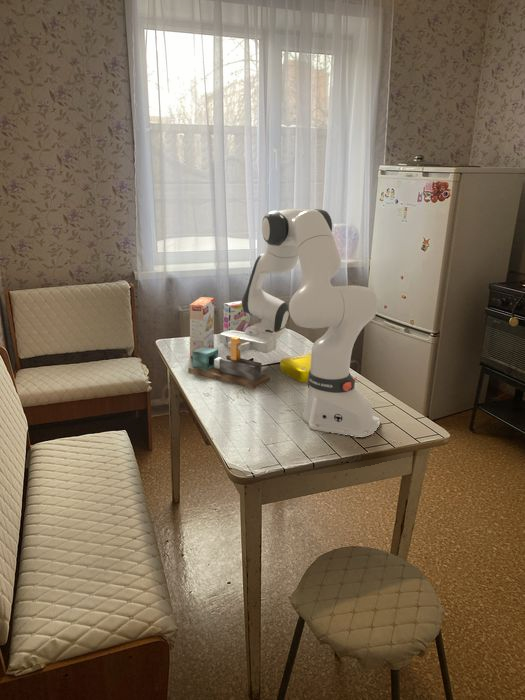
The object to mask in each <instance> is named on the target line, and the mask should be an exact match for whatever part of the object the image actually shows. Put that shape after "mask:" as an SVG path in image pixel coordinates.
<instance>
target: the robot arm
mask: <svg viewBox="0 0 525 700" xmlns="http://www.w3.org/2000/svg"><path fill="white" fill-rule="evenodd" d="M332 220H333V219H332V218H331V216H330V214H329V212H328V211H327V210H324V209H319V208H315V209H309V208H308V209H307V208H288V209H282V210H277V209H276V210H272V211H268V212H267V213H265V215H264V217H263V218H262V223H261V233H262V236H263V239H264V241H265V242H266V249H265V252H263V253H261V254H259V255H258V257H257V258H256V260H255V262H254V265H253V267H252V270H251V273H250V275H249V276H250V277H249V281H248V283H247V287H246V289H245V292H244V294H243V296H242V299H241V301H242V307H243V310H244V311H245V312H246V313H248V314H250V316H252V317H253V316H254V317H256V318H258V319H260V320H261V321H260V322H259V323H255V324H252V325H250V326H249V327H247V328H246V329H245V331H244V332H241V331H236V330H229V331H226V332H223V331H222V332H220V333H219V343H220V344H222V345H227V348H229V349H231V338H232V337H234V336H235V337H240V344H238V345H237V350H240V351H243V350H250V351H255V352H259V353H263V354H268V353H270V352H272V351H274V350H276V348H277V341H278V340H279V339H280V338H281V337H282V336H283V335H284V333H285V331H286V326H288V325H287V324H288V323H289V319H290V318H291V320H292V322H293V323H294V324H295V325H296V326H298V327H301V328H307V329H320V328H323V329H324V328H327V330H326V332H325V333H324V334H323V335H322V336H321V337H319V338H317V340H315V342H314V343H313V345H312V346H311V349H310V350H311V353H310V354H311V368H310V370H309V376H308V382H307V387H308V391H307V398H306V401H305V405H304V409H303V410H302V411H303V412H302V416H301V417H302V419H303V420H304V421H305V422H306V423H307V425H308V427H309V429H311V430H314V431H319V432H325V433H329V432H331V433H330V434H334V433H339V434H338V435H340V434H347V435H353V436H366V435H368V434H371V433H372V432H373V431H375V430H376V429H377V427H378V426H379V425H380V426H381V420H380V418H379V417H378V416H376V415H374V411H373V403H371V401H370V400H369V399H368V398H367V397H366V396H364V394H362V393H361V392H360V390H358V389H357V388H356V386H355V383H356V382H357V381H358V376H355V377H353V376H352V375H351V372H350V367H351V358H352V353H353V348H354V344H355V342H356V340H357V338H358V336H359V335H360V333H361V331H362V330H364V327H365V326H366V325H367V324H368V323H369V322H371V321H372V320H373V319H374V318H375V316H376V315H377V313H378V308H379V300H378V297H377V295H376V293H375V291H374V290H373V289H372V288H370V287H367V286H361V285H356V284H353V285H352V284H351V285H339V286H335V285H334V286H333V285H332V283H331V281H330V280H331V279H332V278H334V277H335V276H336V275H337V274H338V273H339V272H340V268H341V265H342V260H341V257H340V253H339V251H338V247H337V244H336V241H335V238H334V235H333V233H332V232H333V221H332ZM298 259H299V263H300V268H301V273H302V279H301V280H302V281H301V283H300V286H299V288H298V289H297V290H296V292H294V294H292V296H291V298H290V301H289V304H288V303H287V302H285V301H284V300H281V299H280V298H278V297H276V296H274V295H271V294H269V293H268V292H266V291H265V290H264V289H263V288H262V287H263V284H264V281H265V278H266V274H267V275H268V274H272V275H283V274H286V273H288V272H290V271H292V270H293V269H294V268H295V267H296V265H297V263H298ZM375 421H377V422H375ZM365 432H367V433H365Z"/></svg>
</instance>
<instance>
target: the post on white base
mask: <svg viewBox="0 0 525 700" xmlns="http://www.w3.org/2000/svg"><path fill="white" fill-rule="evenodd" d="M238 344H240V337H235V336H234V337H232V338H231V348H230V356H231V360H230V359H227V358H224V357H220V356H218V358H216V359H214V367H215V368H219V369H220V359H221V358H222V359H226V360H230V361H234V362H239V363H242V362H240V358H241V350H237V345H238ZM243 364H246V363H243Z"/></svg>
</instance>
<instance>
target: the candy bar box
mask: <svg viewBox="0 0 525 700" xmlns="http://www.w3.org/2000/svg"><path fill="white" fill-rule="evenodd" d="M222 310H223V311H222V314H223V318H222V319H223V320H222V321H223V322H222V323H223V326H222V327H223V329H222V332H226V331H229V330H236V331H241V332H244V331H245V329H246V328H247V327H249V326H251V314H248V313H246V312H245V311H244V310H243V307H242V300H239V301H233V302H232V301H231V302H226V303H223V309H222Z"/></svg>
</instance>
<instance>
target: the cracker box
mask: <svg viewBox="0 0 525 700" xmlns="http://www.w3.org/2000/svg"><path fill="white" fill-rule="evenodd" d="M214 334H215V298H214V297H205V296H201V297H199V298H197V299H196V300H194V301H193V302H192V303H191V304H189V357H191V358H193V351H194V350H197V349H199V348H202V347H204V346H206V347H210V348H214V346H215V345H214V344H215V342H214V340H215V335H214Z"/></svg>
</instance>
